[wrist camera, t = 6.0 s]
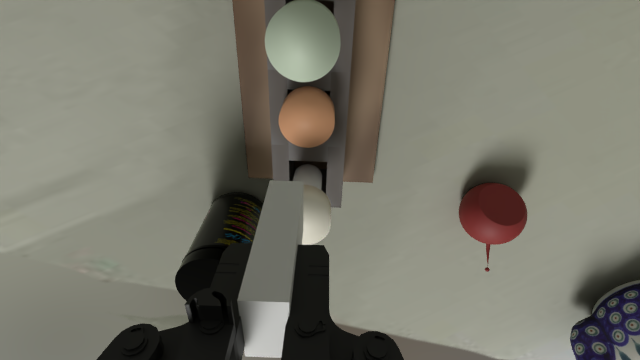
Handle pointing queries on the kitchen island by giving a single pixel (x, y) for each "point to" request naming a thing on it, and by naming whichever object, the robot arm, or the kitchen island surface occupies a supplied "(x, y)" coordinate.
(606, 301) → the teapot
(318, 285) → the robot arm
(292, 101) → the orange capped peg
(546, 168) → the kitchen island surface
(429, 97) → the kitchen island surface
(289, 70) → the sage button
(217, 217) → the supplement container
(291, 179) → the button board
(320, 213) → the cream button
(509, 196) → the fruit
